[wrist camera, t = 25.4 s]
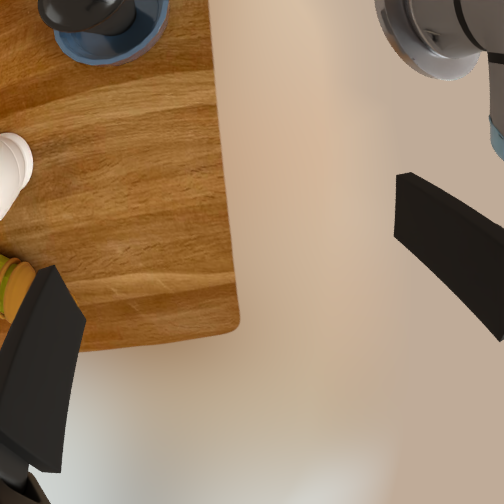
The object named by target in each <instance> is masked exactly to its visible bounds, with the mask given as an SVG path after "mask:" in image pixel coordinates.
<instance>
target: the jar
mask: <svg viewBox="0 0 504 504" xmlns="http://www.w3.org/2000/svg"><path fill="white" fill-rule="evenodd" d="M32 169H33V157H32V153H31V150H30V148H29V146H28V144H27V143H26V141H25V140H24V139H23V138H22V137H20V136H19V135H17V134H14V133H2V134H0V221H1V219H2V218H3V217H4V216H5V214H6V213H7V212H8V210H9V209H10V207H11V205H12V204H13V202H14V201H15V199H16V198H17V196H18V194H19V192H20V190H22V189H23V188H24V187H25V186H26V184H27V183H28V181H29V179H30V177H31V174H32Z"/></svg>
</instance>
